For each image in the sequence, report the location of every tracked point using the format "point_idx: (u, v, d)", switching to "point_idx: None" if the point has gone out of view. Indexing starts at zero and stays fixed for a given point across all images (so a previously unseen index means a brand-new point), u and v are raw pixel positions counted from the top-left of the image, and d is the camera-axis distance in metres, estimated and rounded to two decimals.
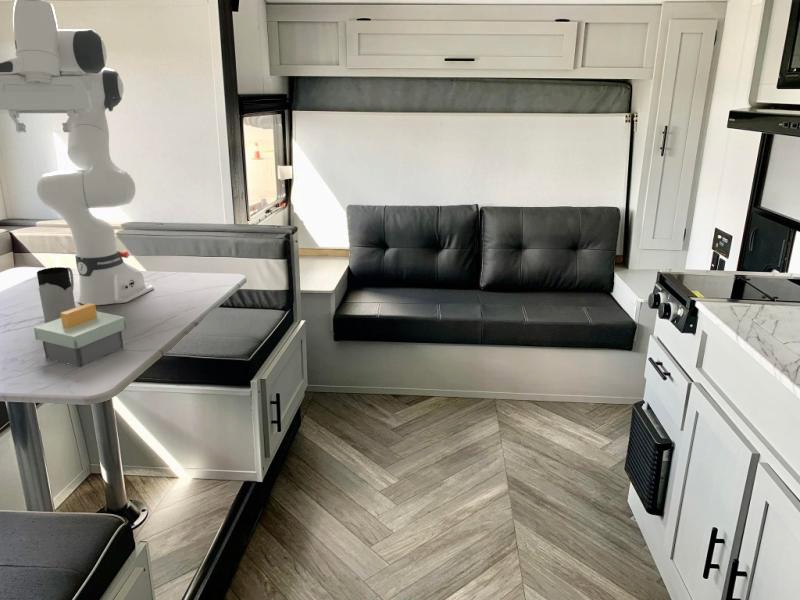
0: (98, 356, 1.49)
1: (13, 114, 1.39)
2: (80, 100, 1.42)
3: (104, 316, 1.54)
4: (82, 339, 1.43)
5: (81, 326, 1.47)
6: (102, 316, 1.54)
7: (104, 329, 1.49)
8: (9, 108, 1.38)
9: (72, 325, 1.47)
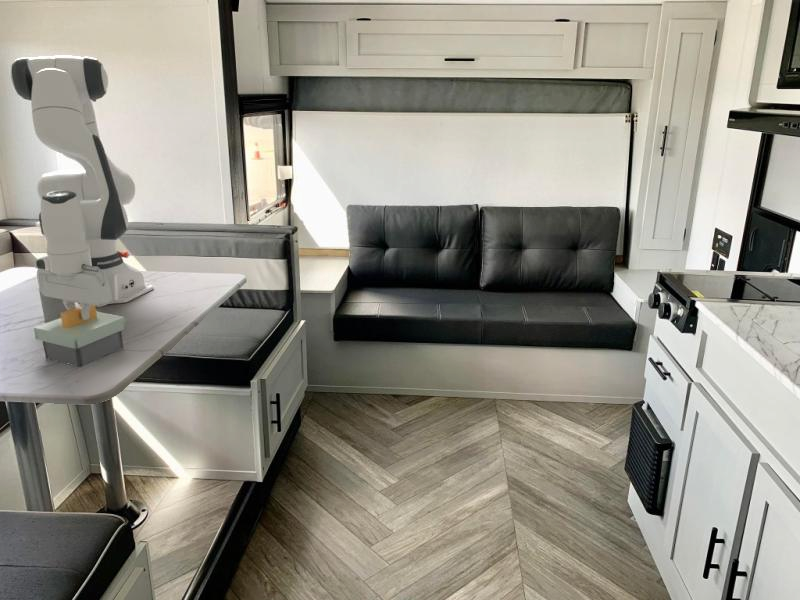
0: (98, 356, 1.49)
1: (65, 303, 1.49)
2: (94, 298, 1.43)
3: (104, 316, 1.54)
4: (82, 339, 1.43)
5: (81, 326, 1.47)
6: (102, 316, 1.54)
7: (104, 329, 1.49)
8: (52, 297, 1.49)
9: (72, 325, 1.47)
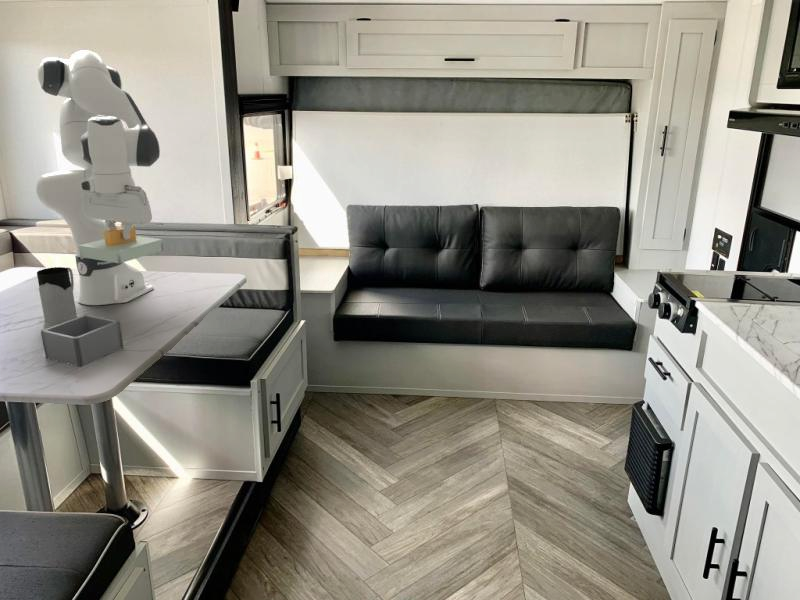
0: (98, 356, 1.49)
1: (107, 223, 1.59)
2: (136, 216, 1.53)
3: (142, 239, 1.64)
4: (125, 255, 1.54)
5: (123, 245, 1.58)
6: (140, 238, 1.65)
7: (144, 248, 1.59)
8: (95, 218, 1.60)
9: (114, 243, 1.57)
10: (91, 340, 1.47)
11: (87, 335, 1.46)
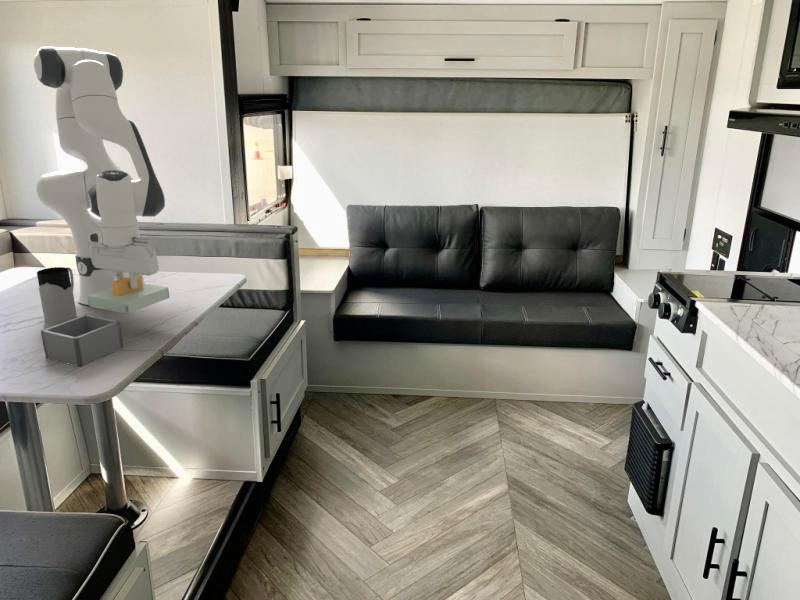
0: (98, 356, 1.49)
1: (115, 273, 1.63)
2: (143, 267, 1.57)
3: (149, 287, 1.68)
4: (132, 305, 1.58)
5: (130, 294, 1.62)
6: (147, 286, 1.69)
7: (151, 297, 1.63)
8: (103, 268, 1.64)
9: (122, 293, 1.61)
10: (91, 340, 1.47)
11: (87, 335, 1.46)
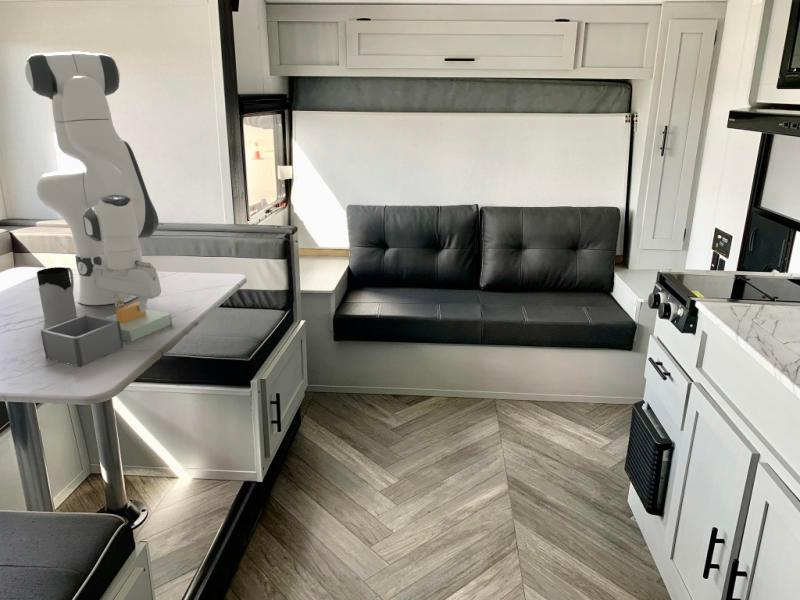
0: (98, 356, 1.49)
1: (112, 294, 1.66)
2: (146, 291, 1.59)
3: (152, 313, 1.71)
4: (136, 333, 1.60)
5: (133, 322, 1.64)
6: (150, 312, 1.71)
7: (153, 324, 1.66)
8: (106, 290, 1.66)
9: (125, 321, 1.64)
10: (91, 340, 1.47)
11: (87, 335, 1.46)
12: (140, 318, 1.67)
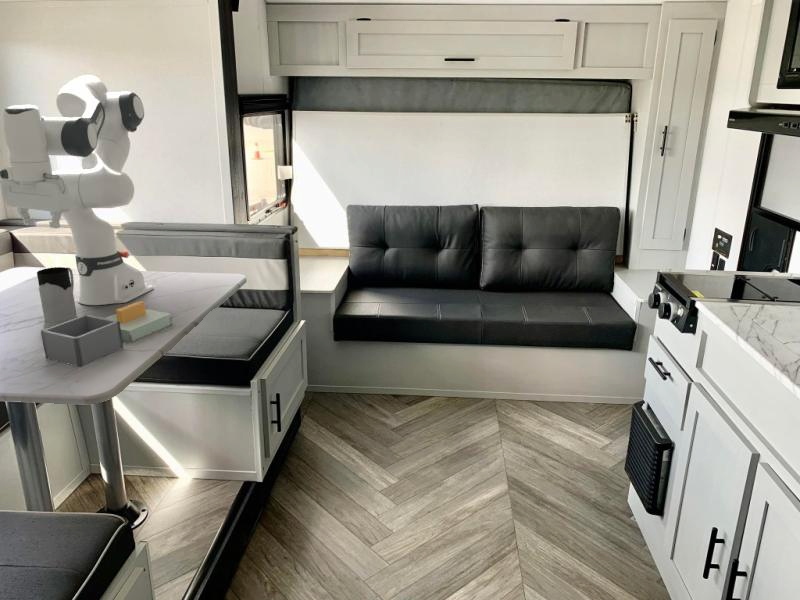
0: (98, 356, 1.49)
1: (20, 211, 1.62)
2: (55, 204, 1.55)
3: (152, 313, 1.71)
4: (136, 333, 1.60)
5: (133, 322, 1.64)
6: (150, 312, 1.71)
7: (153, 324, 1.66)
8: (15, 206, 1.61)
9: (125, 321, 1.64)
10: (91, 340, 1.47)
11: (87, 335, 1.46)
12: (140, 318, 1.67)
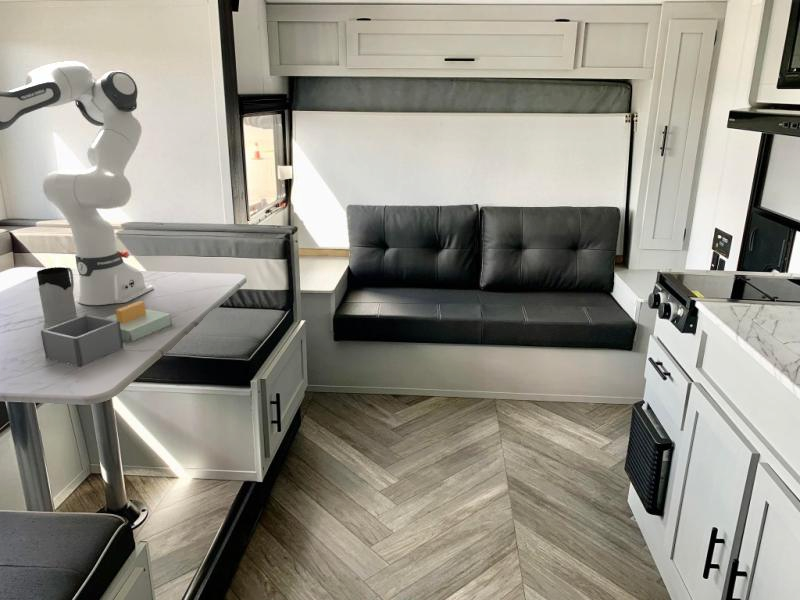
0: (98, 356, 1.49)
1: None
2: None
3: (152, 313, 1.71)
4: (136, 333, 1.60)
5: (133, 322, 1.64)
6: (150, 312, 1.71)
7: (153, 324, 1.66)
8: None
9: (125, 321, 1.64)
10: (91, 340, 1.47)
11: (87, 335, 1.46)
12: (140, 318, 1.67)
